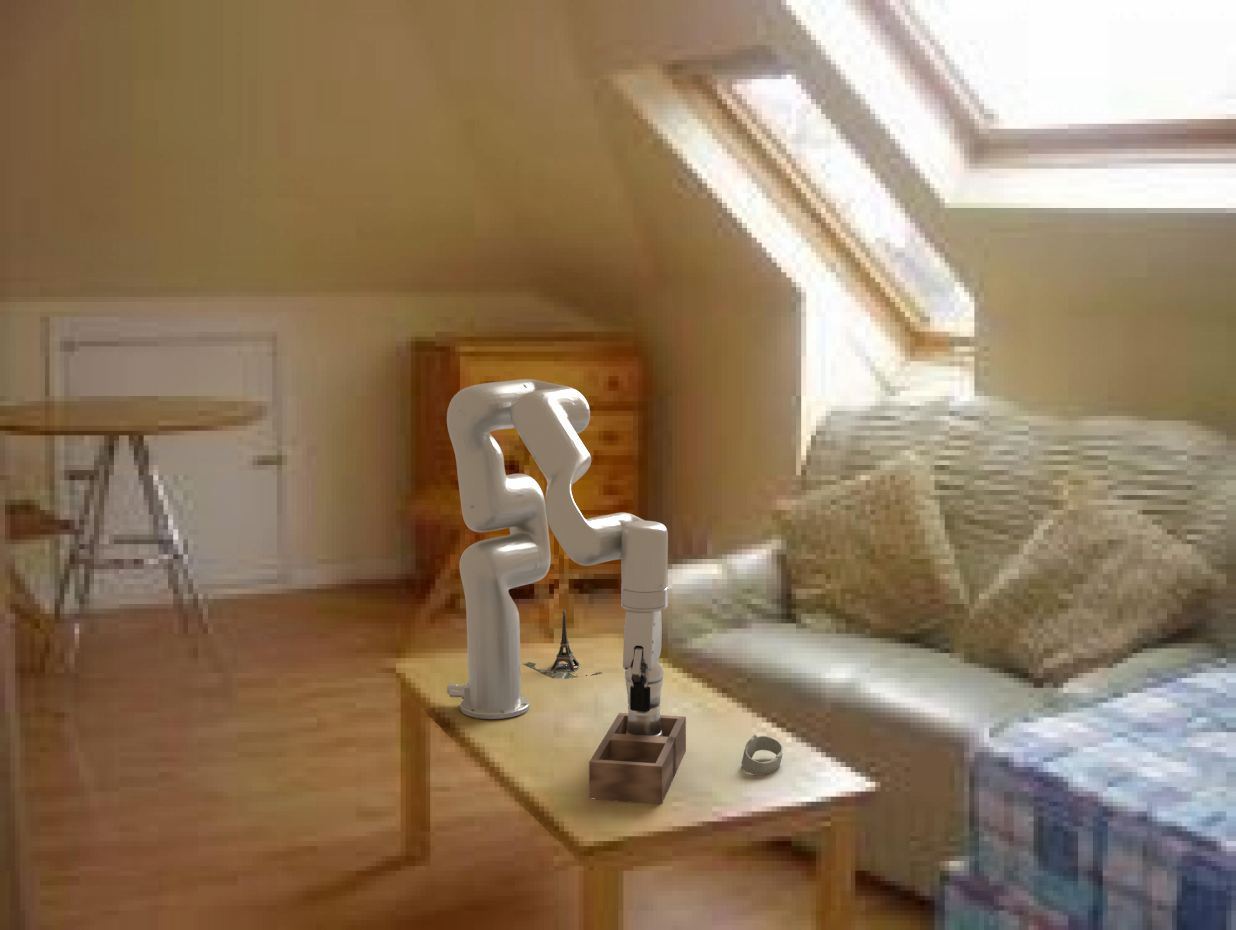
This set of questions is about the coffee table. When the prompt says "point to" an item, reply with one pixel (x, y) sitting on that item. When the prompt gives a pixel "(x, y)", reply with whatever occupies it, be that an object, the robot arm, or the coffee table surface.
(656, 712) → the plastic bottle
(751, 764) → the wristwatch
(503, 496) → the robot arm
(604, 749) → the bottle rack
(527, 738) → the coffee table surface
